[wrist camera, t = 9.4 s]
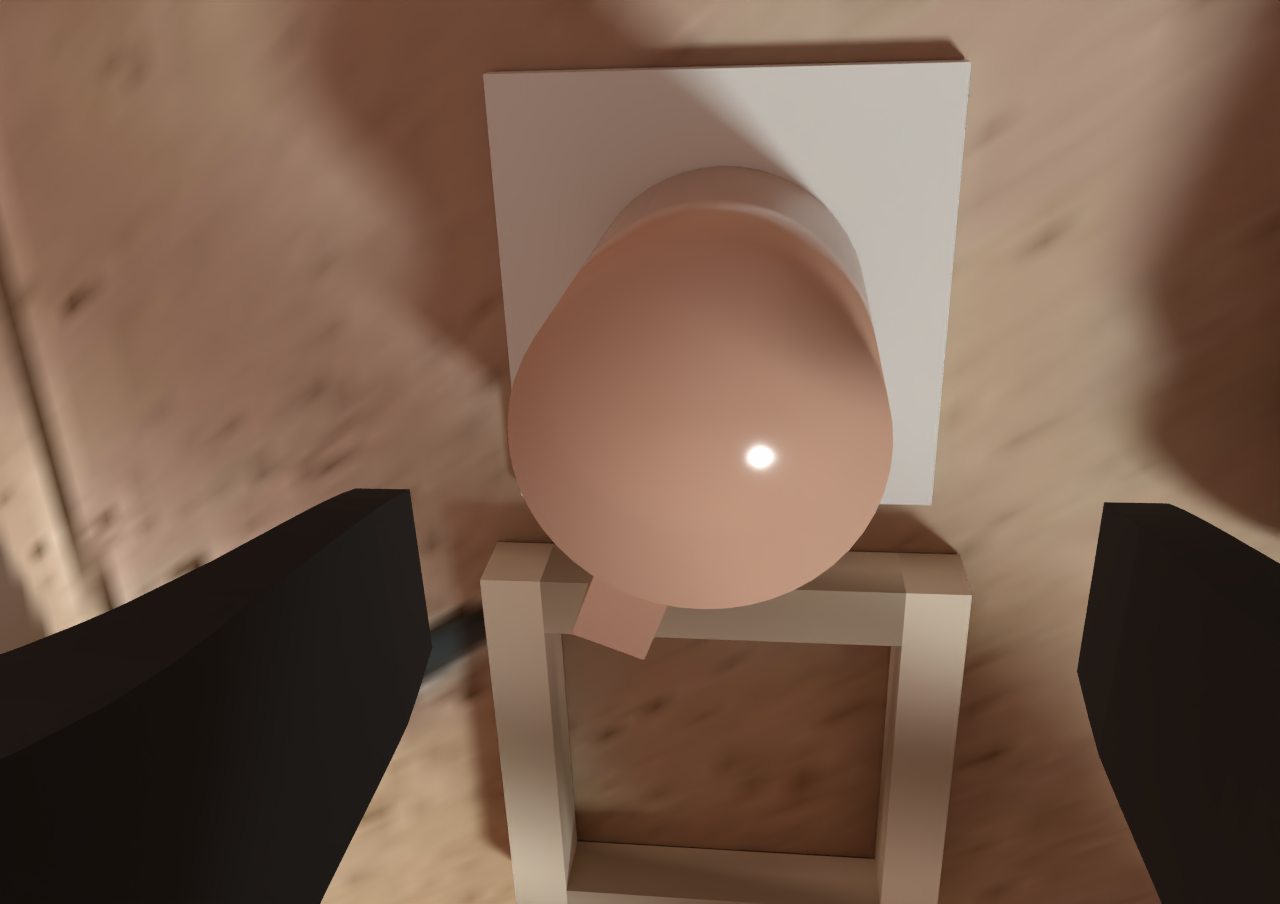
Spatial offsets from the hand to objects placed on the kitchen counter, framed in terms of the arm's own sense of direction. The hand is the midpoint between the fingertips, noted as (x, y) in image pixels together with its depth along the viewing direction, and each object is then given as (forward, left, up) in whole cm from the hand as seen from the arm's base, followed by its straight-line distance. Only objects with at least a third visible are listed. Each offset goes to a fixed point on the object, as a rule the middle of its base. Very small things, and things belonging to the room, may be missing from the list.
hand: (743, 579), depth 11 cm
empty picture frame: (-10, +1, -9) cm, 14 cm away
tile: (0, +1, -9) cm, 9 cm away
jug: (0, +1, -9) cm, 9 cm away
